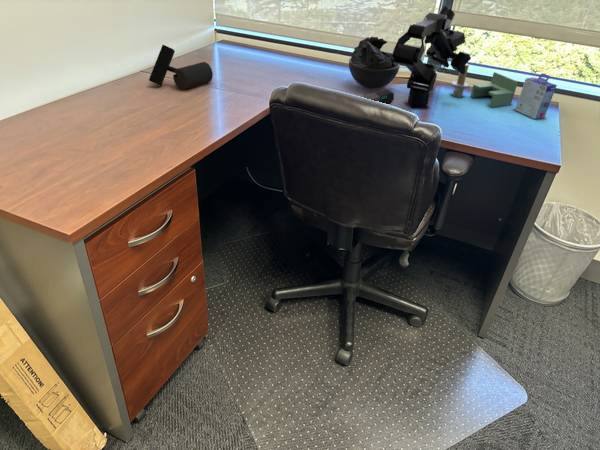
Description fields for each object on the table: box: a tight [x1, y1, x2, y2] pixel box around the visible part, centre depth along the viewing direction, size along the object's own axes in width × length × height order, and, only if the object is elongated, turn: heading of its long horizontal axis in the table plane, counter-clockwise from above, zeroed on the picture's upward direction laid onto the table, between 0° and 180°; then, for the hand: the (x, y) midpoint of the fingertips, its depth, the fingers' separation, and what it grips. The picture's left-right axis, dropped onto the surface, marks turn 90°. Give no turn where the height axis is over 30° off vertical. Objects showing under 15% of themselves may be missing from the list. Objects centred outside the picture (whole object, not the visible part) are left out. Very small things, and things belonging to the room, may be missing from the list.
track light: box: [148, 44, 214, 91], centre depth 178 cm, size 15×14×20 cm
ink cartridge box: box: [514, 72, 558, 120], centre depth 169 cm, size 10×6×14 cm, turn 28°
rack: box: [470, 71, 519, 108], centre depth 181 cm, size 10×12×9 cm
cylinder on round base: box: [450, 63, 470, 98], centre depth 183 cm, size 7×7×12 cm
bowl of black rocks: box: [348, 36, 401, 90], centre depth 184 cm, size 20×20×19 cm
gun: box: [362, 88, 395, 105], centre depth 166 cm, size 4×20×10 cm, turn 109°
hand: (455, 70), depth 179 cm, fingers open, 9 cm apart
